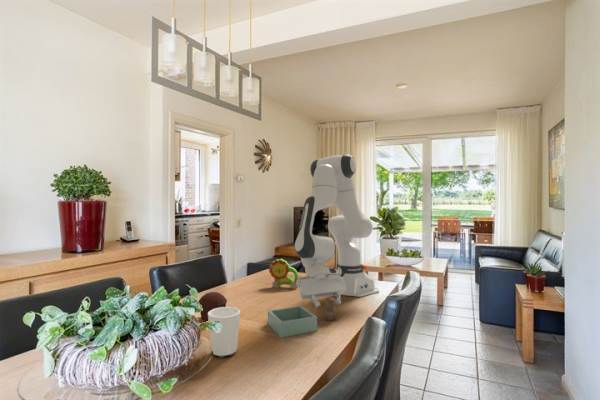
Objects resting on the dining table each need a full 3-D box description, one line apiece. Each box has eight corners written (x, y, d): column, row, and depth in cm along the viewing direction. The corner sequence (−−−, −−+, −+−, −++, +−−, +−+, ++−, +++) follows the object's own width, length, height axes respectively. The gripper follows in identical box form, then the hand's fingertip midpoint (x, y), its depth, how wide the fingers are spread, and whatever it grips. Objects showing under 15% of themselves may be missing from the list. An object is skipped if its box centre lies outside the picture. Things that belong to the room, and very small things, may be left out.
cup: (224, 363, 95) (224, 319, 95) (200, 355, 101) (200, 313, 101) (247, 350, 104) (247, 310, 104) (224, 343, 109) (224, 304, 109)
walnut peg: (332, 316, 133) (332, 297, 133) (337, 320, 130) (337, 299, 130) (323, 318, 132) (323, 298, 132) (328, 321, 128) (328, 301, 128)
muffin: (193, 317, 133) (193, 292, 133) (219, 311, 140) (219, 287, 140) (204, 325, 124) (204, 299, 124) (232, 319, 131) (231, 294, 131)
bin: (300, 318, 132) (300, 305, 132) (317, 330, 119) (317, 316, 119) (267, 323, 126) (267, 310, 126) (281, 337, 113) (280, 323, 113)
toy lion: (299, 286, 179) (299, 258, 179) (296, 289, 174) (296, 260, 174) (271, 285, 183) (271, 257, 183) (268, 287, 177) (268, 259, 177)
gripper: (297, 273, 133) (307, 304, 124) (340, 269, 142) (353, 298, 133) (292, 281, 137) (302, 312, 129) (335, 277, 146) (347, 305, 137)
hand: (328, 305), depth 131 cm, fingers open, 8 cm apart
